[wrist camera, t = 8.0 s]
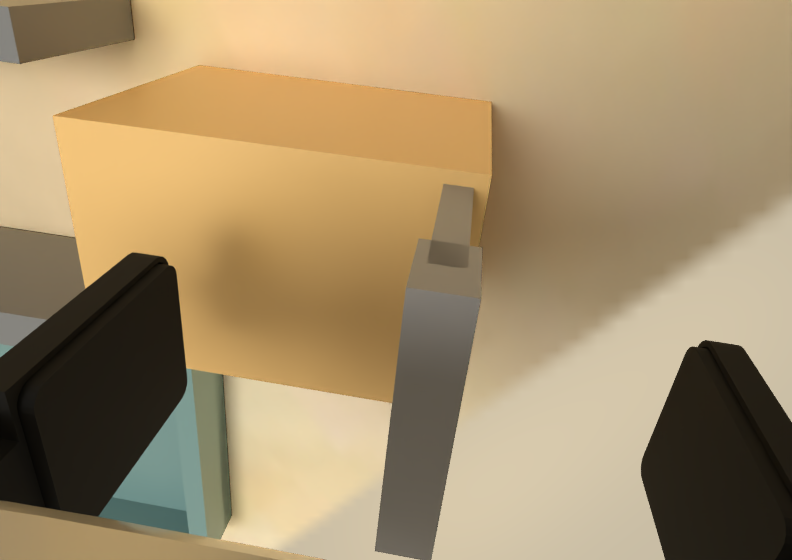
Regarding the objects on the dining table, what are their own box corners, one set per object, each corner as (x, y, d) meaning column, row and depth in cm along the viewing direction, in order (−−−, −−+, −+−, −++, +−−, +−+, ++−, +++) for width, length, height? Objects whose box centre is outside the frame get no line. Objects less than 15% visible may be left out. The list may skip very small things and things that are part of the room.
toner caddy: (491, 101, 17) (493, 280, 8) (461, 277, 20) (434, 573, 10) (200, 64, 18) (-147, 184, 8) (211, 240, 21) (-35, 484, 11)
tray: (219, 330, 23) (191, 369, 21) (231, 515, 28) (209, 562, 26) (-93, 280, 24) (-151, 312, 22) (-26, 467, 29) (-68, 508, 27)
